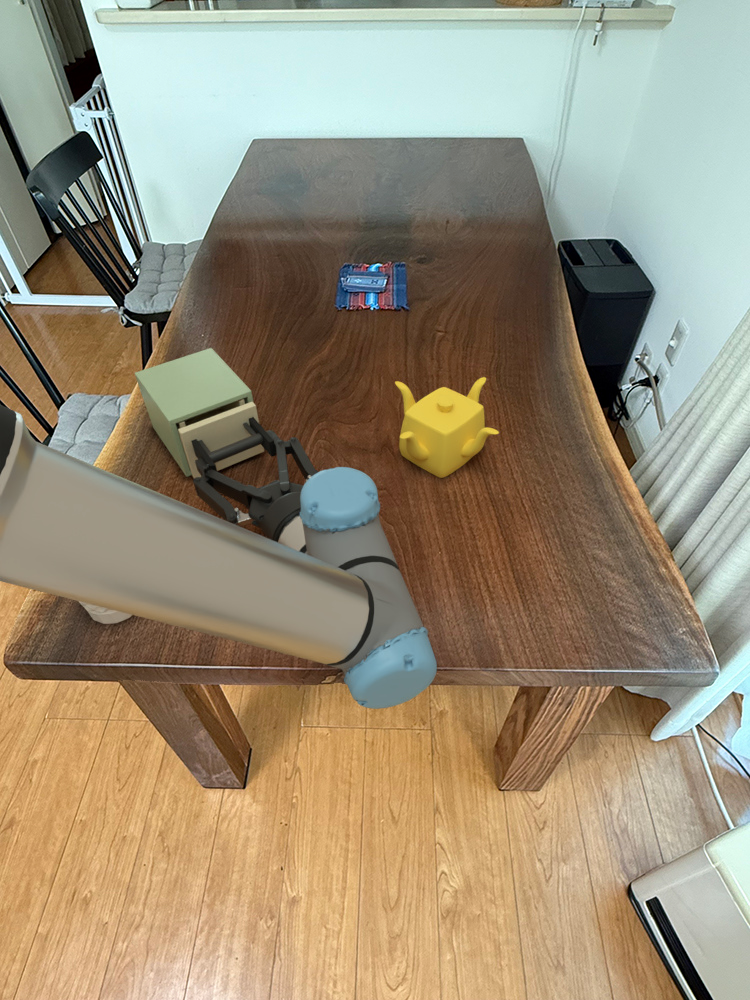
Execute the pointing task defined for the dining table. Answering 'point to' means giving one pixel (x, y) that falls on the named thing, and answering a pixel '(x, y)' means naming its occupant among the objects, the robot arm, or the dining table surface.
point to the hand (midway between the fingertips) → (224, 436)
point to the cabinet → (187, 394)
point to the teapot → (443, 428)
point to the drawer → (222, 435)
